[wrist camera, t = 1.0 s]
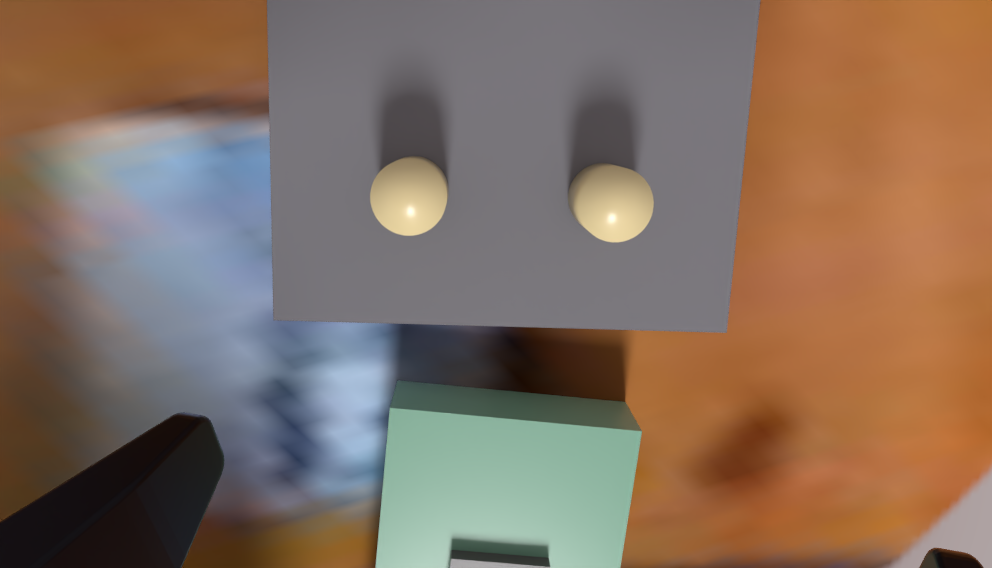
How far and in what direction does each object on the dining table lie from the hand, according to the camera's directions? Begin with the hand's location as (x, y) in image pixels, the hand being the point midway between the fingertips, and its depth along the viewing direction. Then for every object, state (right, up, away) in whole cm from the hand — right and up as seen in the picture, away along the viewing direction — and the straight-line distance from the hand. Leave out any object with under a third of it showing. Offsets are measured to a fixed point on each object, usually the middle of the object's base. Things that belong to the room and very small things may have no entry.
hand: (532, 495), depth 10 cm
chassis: (0, +9, +9) cm, 12 cm away
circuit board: (-1, -5, +12) cm, 13 cm away
